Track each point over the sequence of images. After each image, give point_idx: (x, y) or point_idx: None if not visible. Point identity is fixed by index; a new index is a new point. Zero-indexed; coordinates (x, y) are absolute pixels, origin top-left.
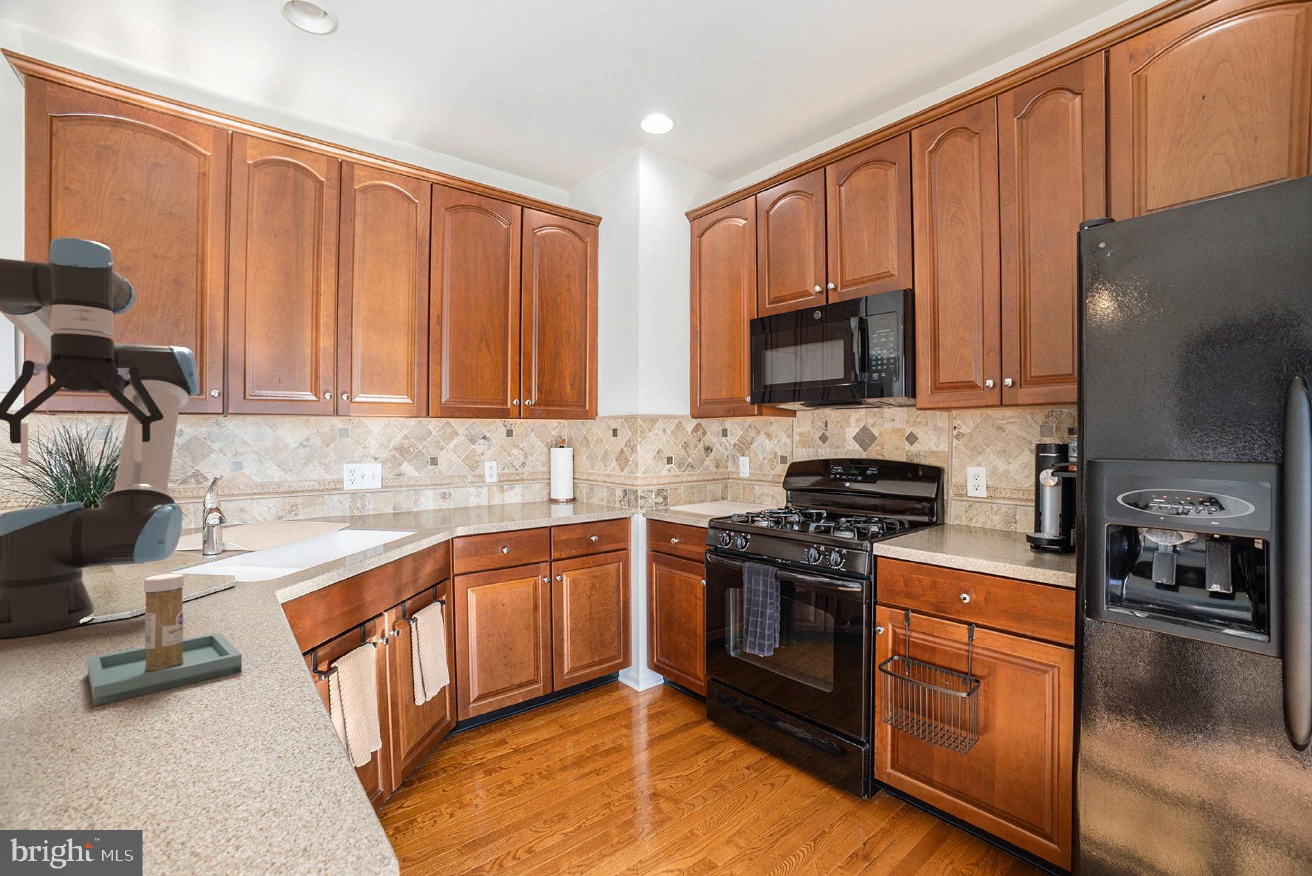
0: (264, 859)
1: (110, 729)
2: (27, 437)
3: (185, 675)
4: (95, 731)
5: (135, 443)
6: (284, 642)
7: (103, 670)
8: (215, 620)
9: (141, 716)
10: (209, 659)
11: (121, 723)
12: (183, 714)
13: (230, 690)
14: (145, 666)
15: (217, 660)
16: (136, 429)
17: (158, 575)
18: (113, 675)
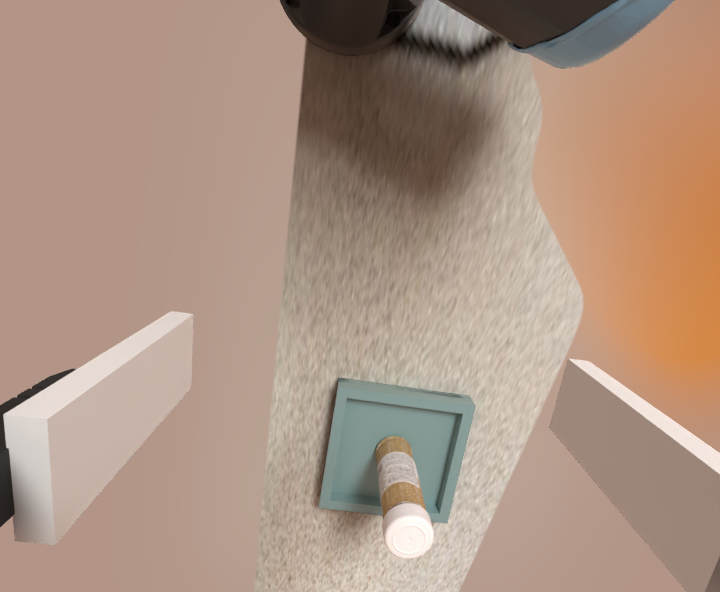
0: None
1: (317, 560)
2: (119, 470)
3: None
4: (308, 555)
5: (611, 452)
6: (523, 443)
7: (347, 407)
8: (533, 230)
9: (340, 551)
10: None
11: (326, 554)
12: (364, 575)
13: None
14: (375, 453)
15: None
16: (664, 564)
17: (406, 526)
18: (349, 436)
